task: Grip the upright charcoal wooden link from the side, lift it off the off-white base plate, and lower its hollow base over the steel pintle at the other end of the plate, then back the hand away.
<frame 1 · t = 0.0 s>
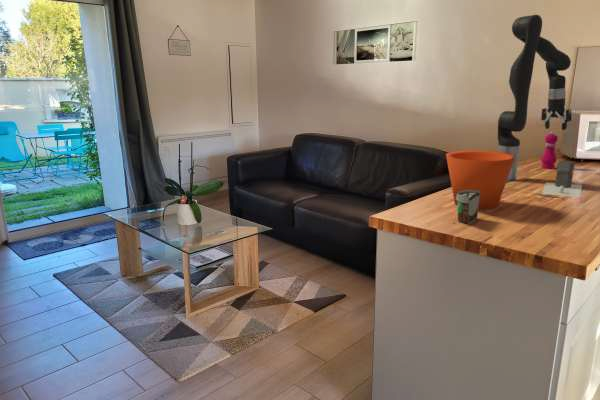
hand: (555, 129, 225), 22 cm above the table, tool pointing down, fingers open, 8 cm apart
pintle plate: (561, 191, 191), on the table
pepper mill: (547, 168, 242), on the table
food container: (463, 220, 157), on the table
charcoal link: (563, 186, 195), point 1 cm above the table, touching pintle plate
flowerpot: (475, 204, 176), on the table
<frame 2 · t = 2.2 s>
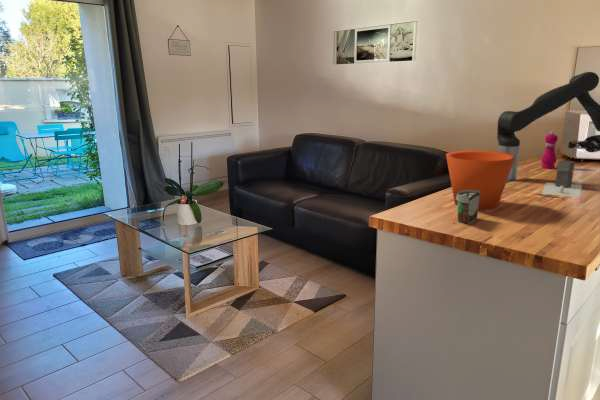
hand: (580, 147, 197), 18 cm above the table, tool horizontal, fingers open, 8 cm apart
nothing on the table moved.
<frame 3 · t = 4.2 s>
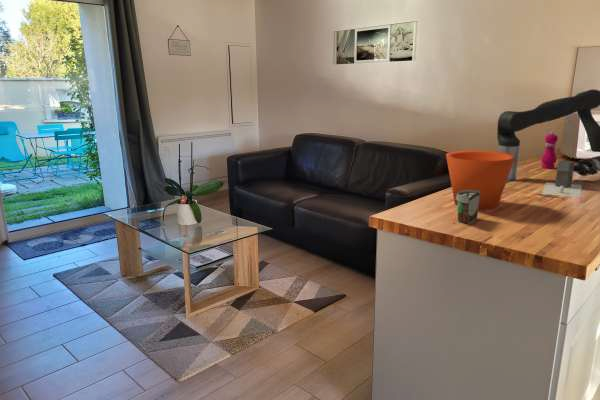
hand: (571, 171, 197), 7 cm above the table, tool horizontal, fingers open, 8 cm apart
nothing on the table moved.
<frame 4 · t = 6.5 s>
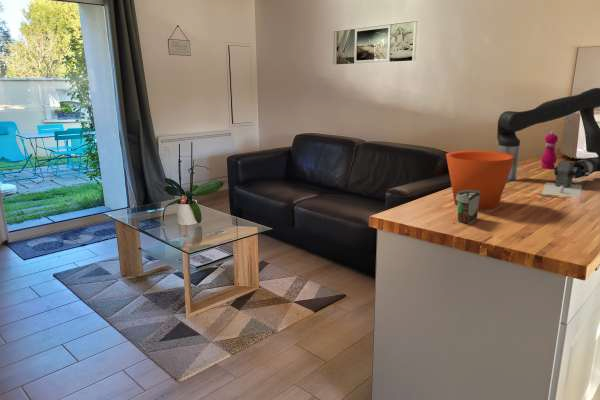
hand: (562, 173, 192), 7 cm above the table, tool horizontal, fingers closed on charcoal link, 4 cm apart
charcoal link: (563, 186, 195), point 1 cm above the table, touching gripper, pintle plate
everything else where it was.
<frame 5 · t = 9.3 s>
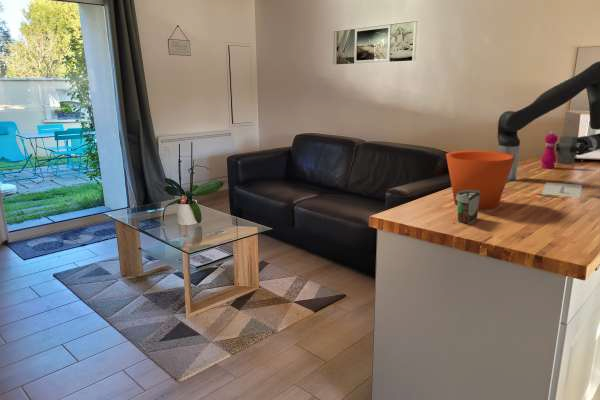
hand: (564, 149, 179), 20 cm above the table, tool horizontal, fingers closed on charcoal link, 4 cm apart
charcoal link: (565, 163, 182), point 14 cm above the table, touching gripper
everything else where it was.
when the fingers open (9 cm above the table, at t = 12.2 s): charcoal link drops 1 cm, resting on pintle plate.
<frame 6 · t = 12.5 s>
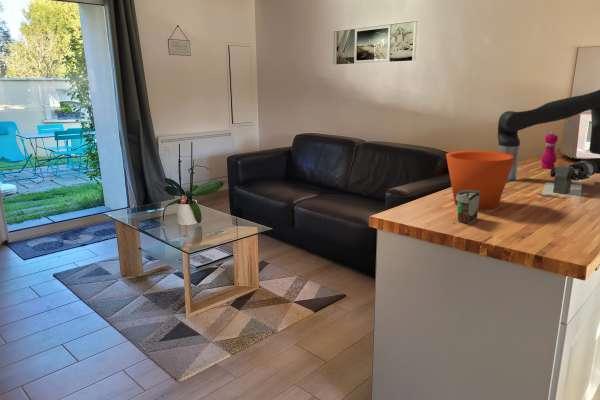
hand: (560, 176, 182), 9 cm above the table, tool horizontal, fingers open, 6 cm apart
charcoal link: (561, 192, 185), point 1 cm above the table, touching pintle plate
everything else where it was.
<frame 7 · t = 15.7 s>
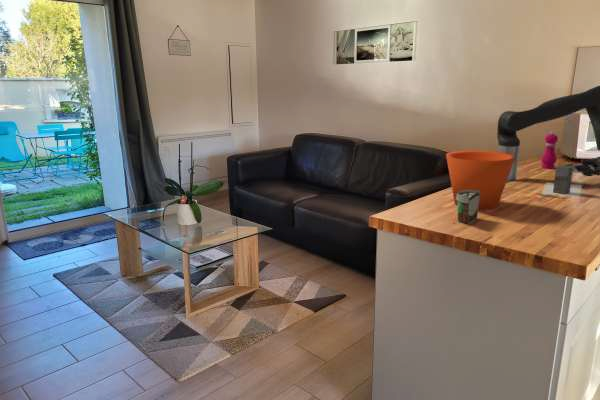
hand: (576, 171, 189), 9 cm above the table, tool horizontal, fingers open, 8 cm apart
nothing on the table moved.
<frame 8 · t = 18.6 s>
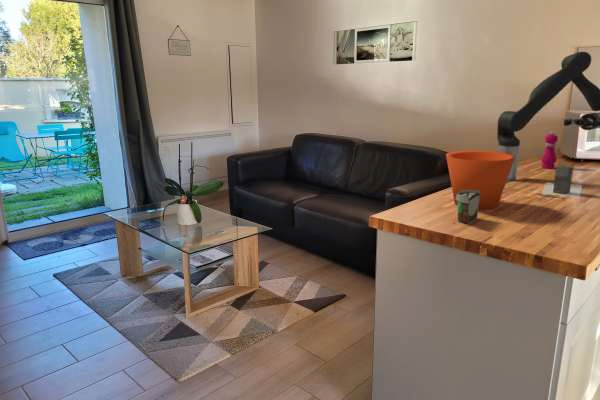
hand: (575, 123, 195), 28 cm above the table, tool horizontal, fingers open, 8 cm apart
nothing on the table moved.
at the end: charcoal link 0.1 cm from the target spot on the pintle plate, point 1.2 cm above the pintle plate's base; charcoal link tilted 0°; the gripper is holding nothing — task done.
